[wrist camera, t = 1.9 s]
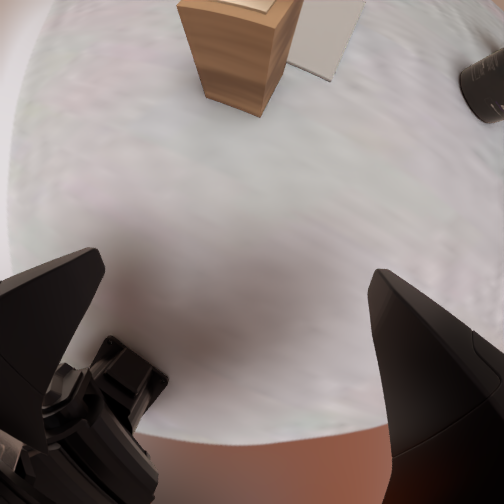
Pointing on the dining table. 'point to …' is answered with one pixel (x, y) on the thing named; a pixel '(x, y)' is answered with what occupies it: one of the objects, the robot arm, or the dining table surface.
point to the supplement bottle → (485, 87)
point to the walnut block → (240, 47)
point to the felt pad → (323, 35)
